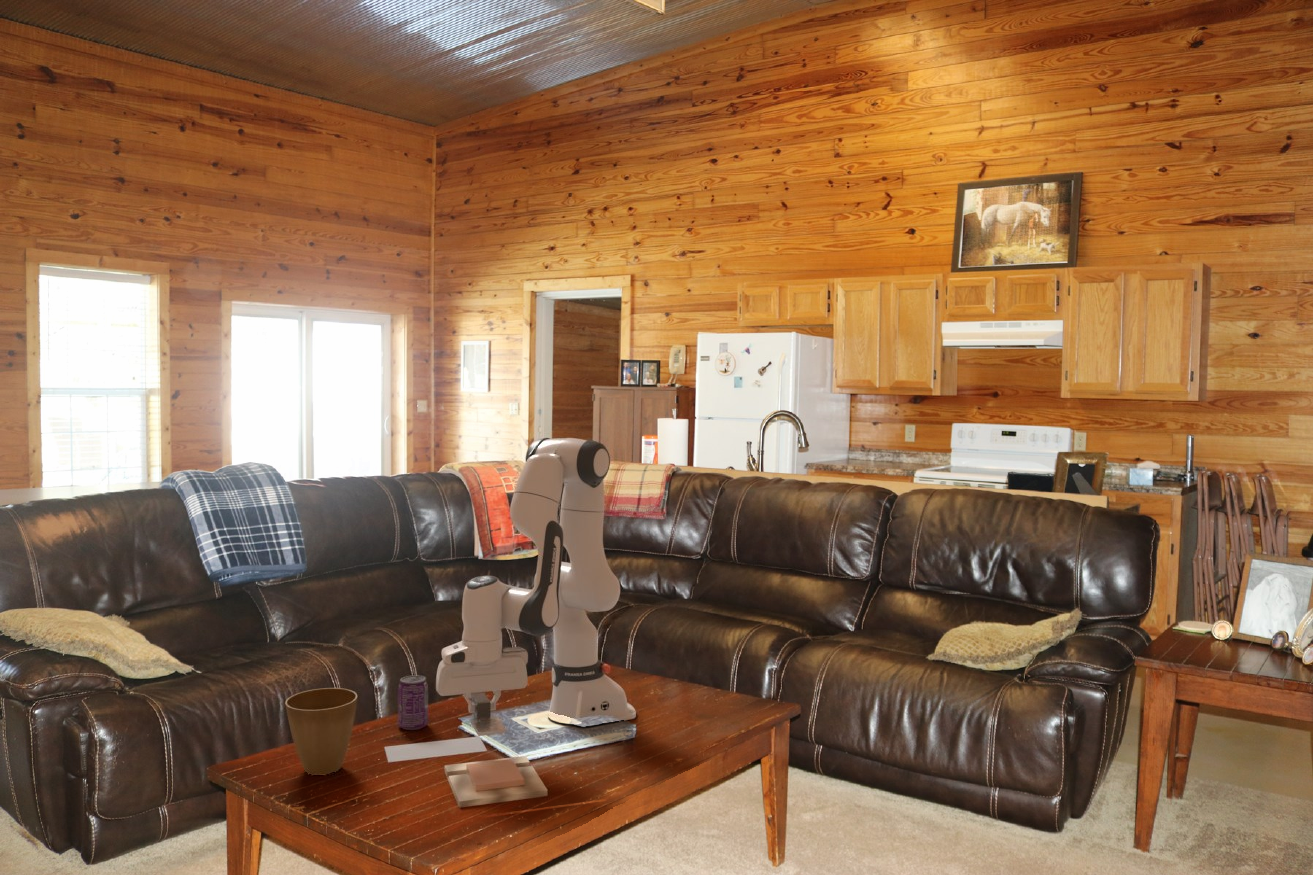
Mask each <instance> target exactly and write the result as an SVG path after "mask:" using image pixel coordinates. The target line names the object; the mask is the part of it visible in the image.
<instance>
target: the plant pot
mask: <svg viewBox="0 0 1313 875" xmlns="http://www.w3.org/2000/svg"><path fill="white" fill-rule="evenodd" d="M357 701H358V694H357V692H356V691H353V690H352V689H347V688H343V687H342V688H341V687H325V688H317V689H316V688H315V689H310V690H305V691H301V692H298V693H295V694H293V695H290V697H288V698H286V700H285V702H284V703H285V708H286V709H285V710H286V714H287V720H288V724H289V729H290V733H291V737H292V740H293V743H294V746H295V749H296V752H297V755H298V757H299V760H300V763H301V766H302V767H303V769H304V771H305V773H306V772H307V773H309V774H317V775H318V774H329V775H331V774H330V773H332V772H335V773H337V772H338V770H339V769H340V770H341V769H342V766H343V763H344V760H345V758H346V755H347V751H348V747H349V744H350V740H351V736H352V732H353V728H354V722H355V716H356V709H357ZM340 770H339V771H340ZM336 771H337V772H336ZM307 773H306V774H307ZM309 774H308V775H309ZM332 774H333V773H332Z"/></svg>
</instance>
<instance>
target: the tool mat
mask: <svg viewBox="0 0 1313 875" xmlns="http://www.w3.org/2000/svg"><path fill="white" fill-rule="evenodd" d="M384 752H385V755H386V756H385V757H386V759H387V763H388V764H389V763H394V762H396V763H397V762H402V761H413V760H422V759H423V760H424V759H428V758H430V759H431V758H438V757H448V756H456V755H464V754H473V753H481V752H482V753H483V752H488V750H487V748H486V746H485V743H484V742H483V741H482V739H481V736H472V737H461V738H455V739H454V738H452V739H451V738H450V739H444V740H434V741H427V742H417V743H416V742H415V743H409V744H408V743H407V744H398V745H397V744H396V745H389V746H384ZM389 765H390V764H389Z"/></svg>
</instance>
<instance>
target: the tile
mask: <svg viewBox="0 0 1313 875" xmlns="http://www.w3.org/2000/svg"><path fill="white" fill-rule="evenodd" d="M466 770H467V773H468V775H469V777H470V779H471V781H472V783H473V786H474V788H475V790H476V791H482V790H490V789H497V788H505V787H513V786H521V785H524V778H523V776H522V775H521V773H520V771H519V769H518V768H517V766H516V764H515V763H514V761H513V759H508V760H499V761H491V762H483V763H474V764H466Z"/></svg>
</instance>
